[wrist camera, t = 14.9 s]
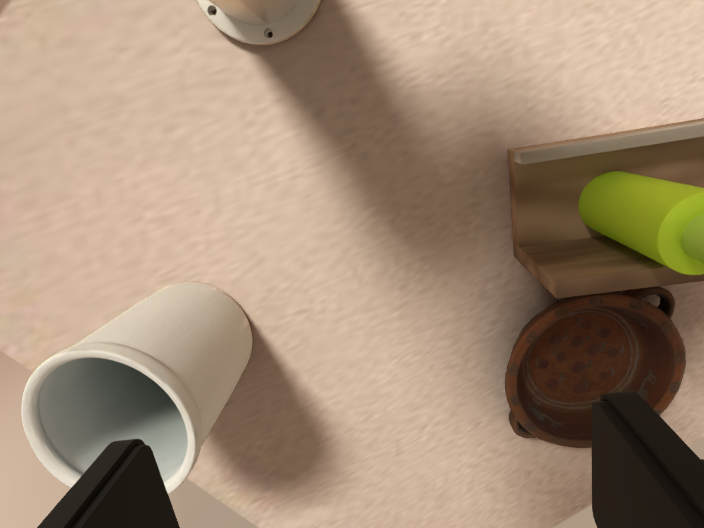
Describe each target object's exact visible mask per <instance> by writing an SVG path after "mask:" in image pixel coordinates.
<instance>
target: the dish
mask: <svg viewBox="0 0 704 528" xmlns="http://www.w3.org/2000/svg"><path fill="white" fill-rule="evenodd" d="M653 294H656V295H657V296H659V297H660V305H659V306H658V308H657V307H655V306H653V305H651V304H650V303H648V302H646V301H643V300H640V299H641V298H643V297H645V296H647V295H653ZM674 306H675V300H674V297H673V296H672V294H671V293H670V292H669V291H668V290H666V289H663V288H661V287H659V286H656V287H647V288H639V289H631V290H627V291H625V292H623V293H621V294H592V295H587V296H580V297H574V298H569V299H566V300H563V301H560V302H557V303H555V304H553V305H551V306H549V307H547V308H546V309H544V310H543V311H541V312H540V313H539V314H537V315H536V316H535V317H534V318H533V319H532V320H531V321H530V322H529V323H528V324H527V325H526V326H525V327H524V329H523V330H522V331H521V333H520V335H519V337H518V338H517V340H516V343H515V345H514V347H513V351H512V354H511V357H510V360H509V363H508V366H507V371H506V378H505V389H506V396H507V400H508V403H509V406H510V409H511V410H510V413H509V421H510V424H511V426H512V428H513V430H514V432H515V433H516V434H517V435H519V436H521V437H524V438H535V437H537V438H538V439H541V440H544V441H547V442H550V443H554V444H558V445H562V446H568V447H575V448H590V447H592V411H591V409H592V404H593V403H594V402H600V397H601V395H602V394H604V393H614V392H625V391H635V392H637V393H638V394H639V395H640V396H641V397H642V398H643V399H644V400H645V401H646V402H647V403H648V404H649V406H650V407H651V408H652V409H653V410H654V411H655V412H656V413H657V414H658V415H659V416H660V415H661V414H662V412H663V411H664V410H665V409H666V408H667V407H668V406H669V404H670V403H671V401H672V400H673V399H674V397H675V395H676V393H677V392H678V390H679V387H680V385H681V382H682V378H683V375H684V371H685V365H686V360H685V357H686V355H685V347H684V344H683V341H682V338H681V336H680V334H679V332H678V330H677V329H676V327H675V326H674V324H673V322H672V320H671V319H670V318H671V316H672V315H673V312H674Z"/></svg>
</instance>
